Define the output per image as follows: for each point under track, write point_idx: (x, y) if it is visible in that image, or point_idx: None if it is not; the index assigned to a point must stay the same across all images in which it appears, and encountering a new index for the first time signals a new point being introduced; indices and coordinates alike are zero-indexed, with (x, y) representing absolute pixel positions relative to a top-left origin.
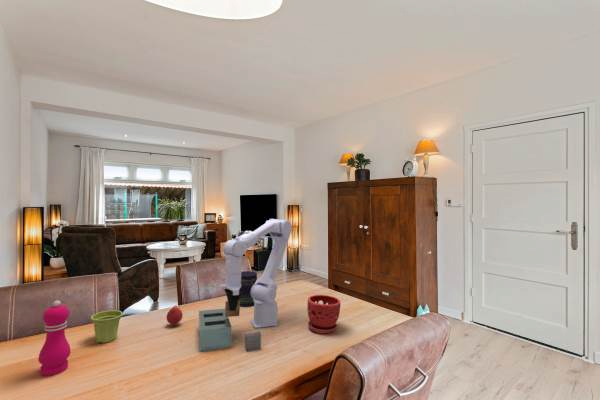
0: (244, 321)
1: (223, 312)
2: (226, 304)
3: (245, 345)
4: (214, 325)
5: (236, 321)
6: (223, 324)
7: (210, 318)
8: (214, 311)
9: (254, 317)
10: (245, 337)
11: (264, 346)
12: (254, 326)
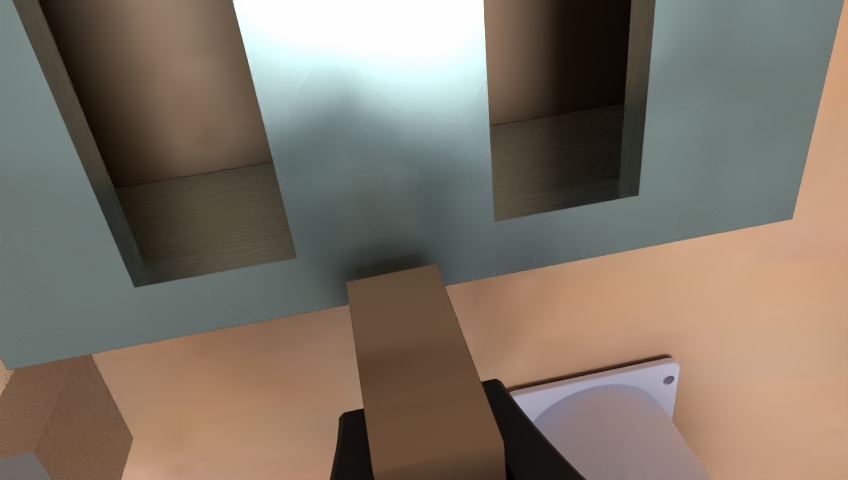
0: (690, 302)
1: (632, 210)
2: (371, 453)
3: (54, 369)
4: (38, 117)
5: (722, 234)
6: (103, 256)
7: (407, 12)
8: (733, 62)
9: (606, 434)
10: (35, 424)
11: (133, 468)
12: (524, 393)
